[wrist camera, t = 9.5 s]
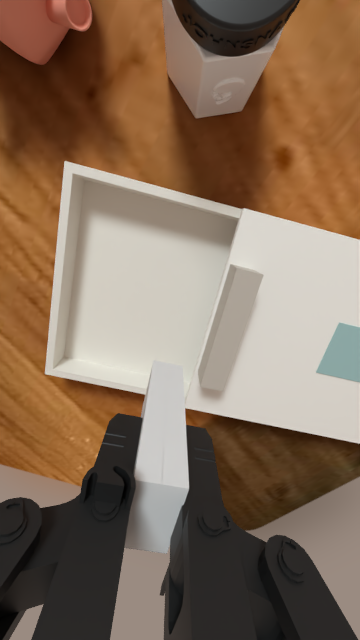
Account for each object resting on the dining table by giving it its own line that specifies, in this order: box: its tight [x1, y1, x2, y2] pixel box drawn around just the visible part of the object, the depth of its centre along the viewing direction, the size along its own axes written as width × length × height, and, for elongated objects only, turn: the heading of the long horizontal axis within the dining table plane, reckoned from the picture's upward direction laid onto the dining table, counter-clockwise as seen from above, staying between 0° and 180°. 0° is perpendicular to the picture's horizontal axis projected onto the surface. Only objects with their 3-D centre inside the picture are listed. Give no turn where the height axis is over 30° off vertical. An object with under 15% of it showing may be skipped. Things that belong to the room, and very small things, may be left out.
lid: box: [185, 208, 360, 444], centre depth 27 cm, size 28×22×4 cm
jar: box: [162, 0, 300, 118], centre depth 19 cm, size 9×8×12 cm
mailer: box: [45, 161, 242, 399], centre depth 30 cm, size 28×22×4 cm
